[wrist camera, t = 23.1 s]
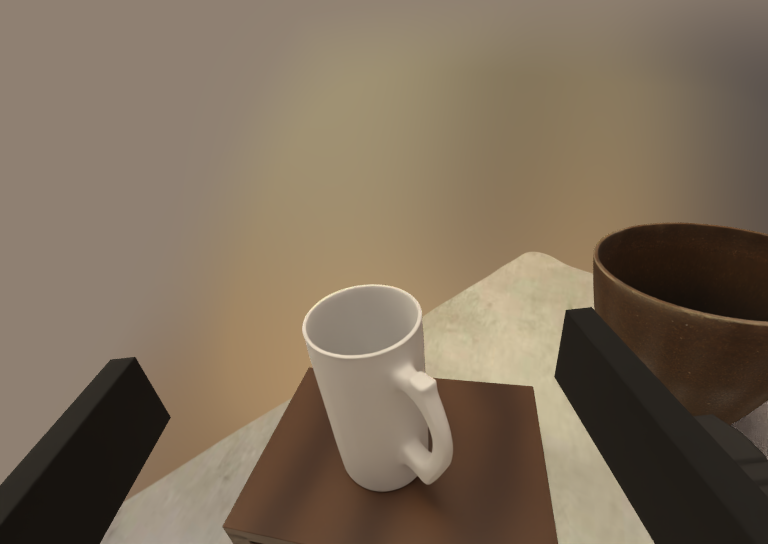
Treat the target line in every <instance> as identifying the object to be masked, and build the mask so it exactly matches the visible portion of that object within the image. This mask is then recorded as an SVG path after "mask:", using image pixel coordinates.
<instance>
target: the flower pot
mask: <svg viewBox="0 0 768 544" xmlns="http://www.w3.org/2000/svg"><path fill="white" fill-rule="evenodd" d="M593 256H594V257H593V284H594V307H595V311H596V312H597V314H598V315H599V316H600V317H601V318H602V319H603V320H604V321H605V322H606V323H607V324H608V325H609V326H610V328H611V329H612V330H613V331H614V332H615V333H616V334H617V335H618V336H619V337H620V338H621V339H622V340H623V341H624V343H625V344H626V345H627V346H628V347H629V348H630V349H631V350H632V351H633V352H634V353H635V354H636V355H637V357H638V358H639V359H640V360H641V361H642V362H643V363H644V364H645V365H646V366H647V367H648V368H649V369H650V370H651V372H652V373H653V374H654V375H655V376H656V377H657V378H658V379H659V380H660V381H661V382H662V383H663V384H664V386H665V387H666V388H667V389H668V390H669V391H670V392H671V393H672V394H673V395H674V396H675V397H676V398H677V399H678V401H679V402H680V403H681V404H682V405H683V406H684V407H685V408H686V409H687V410H688V411H689V412H690V413H691V415H692V416H700V415H710V414H713V415H715V416H716V417H718V418H719V419H721V420H722V421H724V422H726V423H727V424H729V425H731V424H733V423H735V422H736V421H738V420H740V419H741V418H743V417H744V416H746V415H747V414H749V413H750V412H752V411H754V410H755V409H756V408H758V407H759V406H761V405H762V404H763V403H765V402H766V401H767V400H768V234H764V233H759V232H755V231H750V230H745V229H738V228H732V227H725V226H718V225H708V224H697V223H655V224H644V225H638V226H632V227H628V228H624V229H620V230H618V231H615V232H612V233H610V234H608V235H606V236H605V237H603V238H602V239H601V240H600V241H599V242H598V243H597V244H596V246H595V248H594V254H593Z"/></svg>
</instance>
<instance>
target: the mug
mask: <svg viewBox="0 0 768 544" xmlns="http://www.w3.org/2000/svg"><path fill="white" fill-rule="evenodd" d="M302 330H303V336H304V338H305V342H306V346H307V349H308V353H309V357H310V360H311V363H312V367H313V370H314V373H315V376H316V379H317V382H318V386H319V389H320V392H321V395H322V398H323V401H324V405H325V408H326V411H327V414H328V417H329V420H330V424H331V427H332V430H333V433H334V437H335V440H336V443H337V446H338V449H339V452H340V455H341V458H342V461H343V464H344V466H345V469H346V471H347V473H348V474H349V476H350V477H351V478H352V479H353V480H354V481H355V482H356V483H357V484H359V485H360V486H362V487H364V488H366V489H369V490H373V491H380V492H385V491H392V490H396V489H399V488H402V487H404V486H406V485H407V484H409V483H410V482H412V481H413V480H414V479H415V478H416V477H417V476H418V477H419V478H420V479H421V480H422V481H423V482H424V483H425V484H432V483H433V482H435V481H436V480H437V479H438V478H439V477H440V476H441V475H442V474H443V473H444V471H445V470H446V469H447V468H448V467H449V465H450V463H451V460H452V456H453V442H452V436H451V431H450V427H449V423H448V420H447V417H446V414H445V411H444V408H443V405H442V402H441V399H440V397H439V394H438V391H437V382H436V380H435V379H434V378H432V377H430V376H429V375H427V374H426V373H425V355H424V336H423V324H422V310H421V307H420V304H419V303H418V302H417V300H416V299H415V298H414V297H413V296H412V295H410V294H409V293H407V292H405V291H404V290H401V289H399V288H396V287H392V286H387V285H360V286H354V287H349V288H346V289H342V290H340V291H337V292H334V293H332V294H330V295H328V296H326V297H325V298H323V299H322V300H320V301H319V302H318V303H317V304H315V305H314V306H313V307H312V308H311V309H310V311H309V312H308V314H307V315H306V317H305V319H304V322H303V327H302ZM428 427H429V430H430V433H431V436H432V442H433V448H432V453H431V452H429V451H428Z"/></svg>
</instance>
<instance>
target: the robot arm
mask: <svg viewBox="0 0 768 544" xmlns="http://www.w3.org/2000/svg"><path fill="white" fill-rule="evenodd" d="M555 378H556V380H557V382H558V383H559V385H560V387H561V388H562V390H563V392H564V393H565V395H566V397H567V398H568V400H569V402H570V403H571V405H572V407H573V408H574V410H575V412H576V413H577V415H578V417H579V418H580V420H581V422H582V423H583V425H584V427H585V428H586V430H587V432H588V433H589V435H590V437H591V438H592V440H593V442H594V443H595V445H596V447H597V448H598V450H599V451H600V453H601V455H602V456H603V458H604V460H605V461H606V463H607V465H608V466H609V468H610V470H611V471H612V473H613V475H614V476H615V478H616V480H617V481H618V483H619V485H620V486H621V488H622V490H623V491H624V493H625V495H626V496H627V498H628V500H629V501H630V503H631V505H632V506H633V508H634V510H635V511H636V513H637V515H638V516H639V518H640V520H641V521H642V523H643V525H644V526H645V528H646V530H647V531H648V533H649V535H650V536H651V538H652V540H653V541H654V543H655V544H768V460H767V459H766V456H765V455H764V454H763V453H762V452H761V451H760V450H759V449H758V448H757V447H756V446H755V445H754V444H753V443H752V442H751V441H750V440H749V439H748V438H747V437H746V436H745V435H743V434H742V433H741V432H740V431H738V430H736V429H735V428H733V427H732V426H730V425H729V424H727V423H726V422H724V421H722V420H721V419H719V418H718V417H716V416H715V415H713V414H710V415H700V416H692V415H691V413H690V412H689V411H688V410H687V409H686V408H685V407H684V406H683V405H682V404H681V403H680V402H679V401H678V399H677V398H676V397H675V396H674V395H673V394H672V393H671V392H670V391H669V390H668V389H667V388H666V387H665V386H664V384H663V383H662V382H661V381H660V380H659V379H658V378H657V377H656V376H655V375H654V374H653V373H652V372H651V370H650V369H649V368H648V367H647V366H646V365H645V364H644V363H643V362H642V361H641V360H640V359H639V358H638V357H637V355H636V354H635V353H634V352H633V351H632V350H631V349H630V348H629V347H628V346H627V345H626V344H625V343H624V341H623V340H622V339H621V338H620V337H619V336H618V335H617V334H616V333H615V332H614V331H613V330H612V329H611V328H610V326H609V325H608V324H607V323H606V322H605V321H604V320H603V319H602V318H601V317H600V316H599V315H598V314H597V312H596V311H595V310H594V309H593V308H592V307H590V308H581V309H571V310H566V313H565V319H564V324H563V330H562V336H561V342H560V348H559V354H558V359H557V365H556V371H555ZM170 418H171V417H170V415H169V414H168V412H167V410H166V409H165V407H164V405H163V404H162V402H161V400H160V398H159V397H158V395H157V393H156V392H155V390H154V388H153V387H152V385H151V383H150V381H149V380H148V378H147V376H146V375H145V373H144V371H143V370H142V368H141V366H140V365H139V363H138V361H137V359H136V358H135V357H131V358H122V359H113V360H110V361H109V362H108V363H107V364H106V366H105V367H104V368H103V369H102V370H101V371H100V372H99V374H98V375H97V376H96V377H95V378H94V379H93V380H92V382H91V383H90V384H89V385H88V386H87V387H86V388H85V390H84V391H83V392H82V393H81V394H80V395H79V397H77V399H76V400H75V401H74V402H73V403H72V404H71V405H70V407H69V408H68V409H67V410H66V411H65V412H64V413H63V415H62V416H61V417H60V418H59V419H58V420H57V421H56V423H55V424H54V425H53V426H52V427H51V428H50V430H49V431H48V432H47V433H46V434H45V435H44V436H43V437H42V439H41V440H40V441H39V442H38V443H37V444H36V445H35V446H34V448H33V449H32V450H31V451H30V452H29V453H28V454H27V456H26V457H25V458H24V459H23V460H22V461H21V462H20V464H19V465H18V466H17V467H16V468H15V469H14V470H13V472H12V473H11V474H10V475H9V476H8V477H7V478H6V479H5V481H4V482H3V483H2V484H1V485H0V544H100V542H101V540H102V539H103V537H104V535H105V533H106V532H107V530H108V528H109V526H110V524H111V523H112V521H113V519H114V517H115V516H116V514H117V512H118V510H119V508H120V507H121V505H122V503H123V501H124V500H125V498H126V496H127V494H128V492H129V491H130V489H131V487H132V485H133V483H134V482H135V480H136V478H137V476H138V474H139V473H140V471H141V469H142V467H143V466H144V464H145V462H146V460H147V459H148V457H149V455H150V453H151V452H152V450H153V448H154V446H155V444H156V443H157V441H158V439H159V437H160V435H161V434H162V432H163V430H164V428H165V427H166V425H167V423H168V421H169V419H170Z"/></svg>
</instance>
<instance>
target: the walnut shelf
mask: <svg viewBox="0 0 768 544" xmlns="http://www.w3.org/2000/svg"><path fill="white" fill-rule="evenodd" d="M434 379H435V380H436V382H437V391H438V394H439V397H440V399H441V402H442V405H443V408H444V411H445V414H446V417H447V420H448V423H449V427H450V431H451V436H452V442H453V456H452V460H451V463H450V465H449V467H448V468H447V469H446V470H445V471H444V473H443V474H442V475H441V476H440V477H439V478H438V479H437V480H436V481H435V482H433V483H432V484H425V483H424V482H423V481H422V480H421V479H420V478H419V477H418V476H417V477H416V478H415V479H414V480H413V481H412V482H410V483H409V484H407V485H406V486H404V487H402V488H399V489H396V490H392V491H385V492H380V491H373V490H369V489H366V488H364V487H362V486H360V485H359V484H357V483H356V482H355V481H354V480H353V479H352V478H351V477H350V476H349V474H348V473H347V471H346V469H345V466H344V464H343V461H342V458H341V455H340V452H339V449H338V446H337V443H336V440H335V437H334V433H333V430H332V427H331V424H330V420H329V417H328V414H327V411H326V408H325V405H324V401H323V398H322V395H321V392H320V389H319V386H318V382H317V379H316V376H315V373H314V370H313V368H308V370H307V372H306V374H305V376H304V378H303V380H302V381H301V383H300V385H299V387H298V389H297V391H296V392H295V394H294V396H293V398H292V400H291V401H290V403H289V405H288V407H287V409H286V411H285V412H284V414H283V416H282V418H281V420H280V422H279V424H278V425H277V427H276V429H275V431H274V433H273V435H272V436H271V438H270V440H269V442H268V444H267V446H266V447H265V449H264V451H263V453H262V455H261V457H260V458H259V460H258V462H257V464H256V466H255V468H254V469H253V471H252V473H251V475H250V477H249V479H248V481H247V482H246V484H245V486H244V488H243V490H242V492H241V493H240V495H239V497H238V499H237V501H236V503H235V504H234V506H233V508H232V510H231V512H230V514H229V515H228V517H227V519H226V521H225V523H224V525H223V528H224V530H225V531H226V533H227V535H228V536H229V538H230V539H231V541H232V542H233V544H558V540H557V534H556V528H555V522H554V515H553V509H552V503H551V496H550V490H549V484H548V478H547V471H546V465H545V459H544V452H543V446H542V440H541V434H540V427H539V421H538V415H537V409H536V402H535V396H534V390H533V387H532V386H521V385H509V384H497V383H485V382H474V381H462V380H450V379H438V378H434ZM432 448H433V442H432V436H431V433H430V430H429V427H428V451H429V452H431V453H432Z"/></svg>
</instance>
